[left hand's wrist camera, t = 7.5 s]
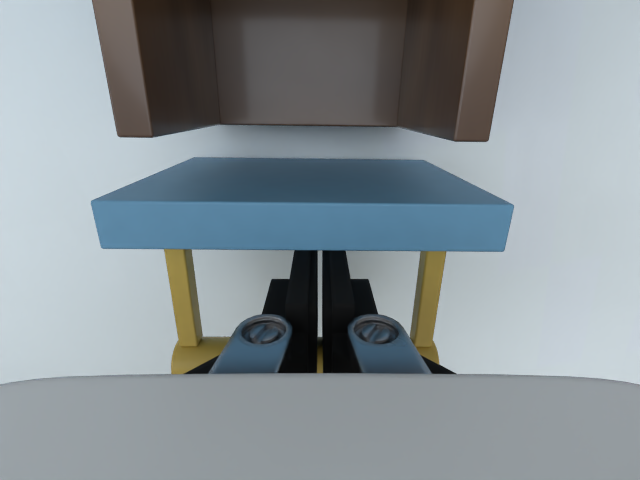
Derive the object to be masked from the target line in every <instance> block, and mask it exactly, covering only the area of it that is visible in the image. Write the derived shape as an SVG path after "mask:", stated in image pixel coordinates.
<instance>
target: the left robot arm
mask: <svg viewBox="0 0 640 480" xmlns="http://www.w3.org/2000/svg"><path fill="white" fill-rule="evenodd" d="M317 338H318V254H317V250H295V251H294V256H293V262H292V268H291V274H290V279H272V280H271V283H270V287H269V290H268V294H267V298H266V301H265V305H264V308H263V312H262V315H256V316H253V317H250V318H248V319H246V320H244V321H243V322H241V323H240V324H239V326H238V327H237V328H236V330H235V331H234V333H233V334H232V336H231V338H230V339H229V341H228V342H227V344H226V346H225V347H224V349H223V350H222V352H221V354H220V355H218V356H216V357H214V358H213V359H211V360H209V361H207V362H205V363H203V364H201V365H199V366H197V367H196V368H194V369H192V370H190V371H188V372H186V373H184V374H157V375H106V376H75V377H55V378H43V379H33V380H25V381H18V382H11V383H6V384H1V385H0V480H640V385H639V384H634V383H628V382H622V381H615V380H607V379H598V378H585V377H567V376H533V375H491V374H456V373H454V372H452V371H450V370H448V369H446V368H444V367H443V366H441V365H439V364H437V363H435V362H433V361H431V360H429V359H427V358H426V357H424V356H422V355H420V354H419V352H418V350H417V349H416V347H415V346H414V344H413V342H412V341H411V339H410V338H409V336H408V334H407V333H406V331H405V330H404V328H403V327H402V326H401V324H400V323H399V322H397V321H396V320H394V319H392V318H390V317H387V316H384V315H378V312H377V308H376V305H375V301H374V298H373V294H372V290H371V287H370V283H369V280H368V279H350V274H349V268H348V262H347V257H346V251H345V250H322V341H323V373H317Z"/></svg>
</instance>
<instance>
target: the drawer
mask: <svg viewBox="0 0 640 480" xmlns="http://www.w3.org/2000/svg"><path fill="white" fill-rule="evenodd" d="M513 2H514V0H92V3H93V8H94V13H95V19H96V24H97V29H98V35H99V40H100V45H101V51H102V56H103V61H104V67H105V72H106V77H107V83H108V88H109V93H110V99H111V104H112V109H113V115H114V120H115V125H116V131H117V135H118V136H119V137H136V138H153V137H158V136H164V135H169V134H174V133H179V132H184V131H189V130H195V129H200V128H205V127H210V126H215V125H282V126H357V127H400V128H404V129H407V130H411V131H415V132H419V133H423V134H427V135H431V136H435V137H439V138H443V139H447V140H451V141H455V142H487V141H488V140H489V135H490V130H491V124H492V118H493V113H494V107H495V102H496V96H497V91H498V85H499V80H500V74H501V69H502V63H503V57H504V52H505V46H506V41H507V35H508V30H509V24H510V19H511V13H512V8H513ZM91 206H92V210H93V214H94V219H95V223H96V227H97V232H98V236H99V240H100V245H101V248H103V249H164V251H165V257H166V264H167V270H168V276H169V283H170V289H171V295H172V301H173V308H174V314H175V320H176V326H177V333H178V339H179V340H178V342H177V343H176V345H175V348H174V351H173V355H172V362H171V373H172V374H184V373H186V372H188V371H190V370H192V369H194V368H196V367H197V366H199V365H201V364H203V363H205V362H207V361H209V360H211V359H213V358H214V357H216V356H218V355H220V354H221V352H222V350H223V349H224V347H225V346H226V344H227V342H228V341H229V339H230V338H231V337H202V336H203V335H202V327H201V319H200V312H199V304H198V296H197V288H196V281H195V273H194V265H193V257H192V250H191V249H217V250H347V251H421V253H420V261H419V269H418V277H417V285H416V293H415V301H414V308H413V316H412V324H411V332H410V339H411V341H412V342H413V344H414V346H415V347H416V349H417V350H418V352H419V354H420V355H422V356H424V357H426V358H427V359H429V360H431V361H433V362H435V363H437V364H439V357H438V352H437V348H436V346H435V343H434V341H433V333H434V327H435V321H436V314H437V308H438V301H439V295H440V288H441V282H442V276H443V269H444V263H445V256H446V251H477V252H503V251H504V250H505V245H506V241H507V236H508V232H509V227H510V222H511V218H512V213H513V209H514V205H513V204H511V203H509V202H507V201H505V200H503V199H501V198H499V197H497V196H495V195H493V194H491V193H489V192H487V191H485V190H483V189H481V188H479V187H477V186H475V185H473V184H471V183H469V182H467V181H465V180H463V179H461V178H459V177H457V176H455V175H453V174H451V173H449V172H447V171H444V170H442V169H440V168H438V167H436V166H434V165H432V164H430V163H428V162H426V161H424V160H370V159H286V158H202V157H194V158H192V159H189V160H187V161H184V162H182V163H180V164H177V165H175V166H173V167H170V168H168V169H165V170H163V171H161V172H158V173H156V174H154V175H151V176H149V177H146V178H144V179H142V180H139V181H137V182H135V183H132V184H130V185H127V186H125V187H123V188H120V189H118V190H116V191H113V192H111V193H109V194H106V195H104V196H101V197H99V198H97V199H94V200H92V201H91ZM317 373H323V341H322V337H318V338H317Z"/></svg>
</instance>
